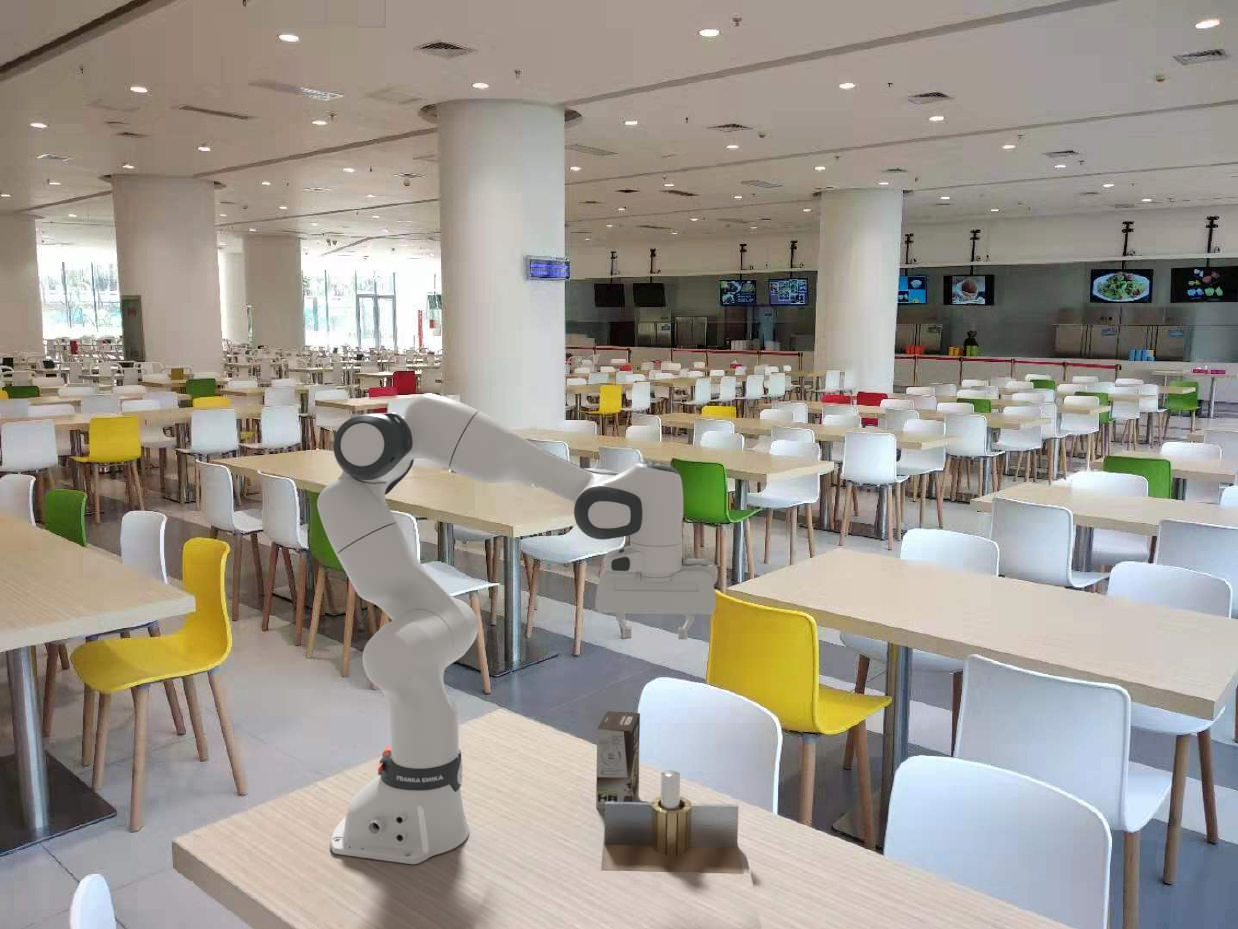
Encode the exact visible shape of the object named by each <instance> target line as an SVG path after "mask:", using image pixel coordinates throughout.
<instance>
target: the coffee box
mask: <svg viewBox="0 0 1238 929" xmlns="http://www.w3.org/2000/svg"><path fill="white" fill-rule="evenodd" d="M640 720H641V713H638V712H629V711H611V710H607V711H606V713H605V714H604V716H603V718H602V719H601V721H600V723H599V725H598V726H597V730H596V731H597V732H596V734H597V735H596V736H597V739H596V786H595V787H596V788H595V789H596V790H595V791H596V792H595V796H596V799H595V808H596V809H600V810H605V801H607V802H638V799H639V797H640V796H639V794H640V790H639V789H640V734H641V733H640V732H641V731H640V730H641V728H640V727H641V722H640Z"/></svg>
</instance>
